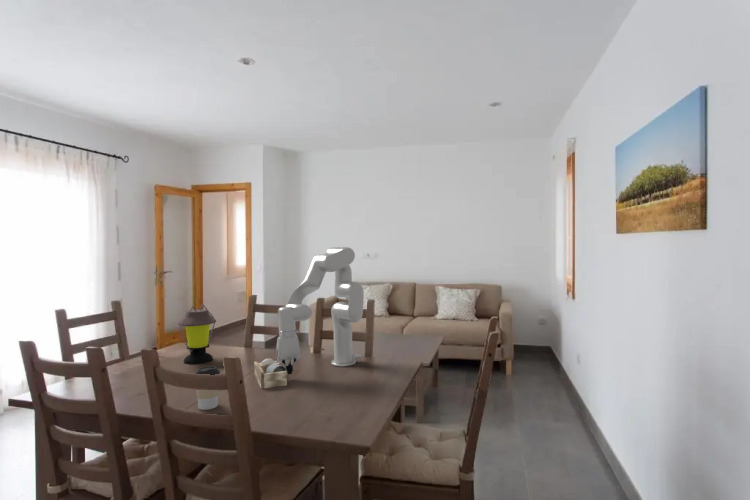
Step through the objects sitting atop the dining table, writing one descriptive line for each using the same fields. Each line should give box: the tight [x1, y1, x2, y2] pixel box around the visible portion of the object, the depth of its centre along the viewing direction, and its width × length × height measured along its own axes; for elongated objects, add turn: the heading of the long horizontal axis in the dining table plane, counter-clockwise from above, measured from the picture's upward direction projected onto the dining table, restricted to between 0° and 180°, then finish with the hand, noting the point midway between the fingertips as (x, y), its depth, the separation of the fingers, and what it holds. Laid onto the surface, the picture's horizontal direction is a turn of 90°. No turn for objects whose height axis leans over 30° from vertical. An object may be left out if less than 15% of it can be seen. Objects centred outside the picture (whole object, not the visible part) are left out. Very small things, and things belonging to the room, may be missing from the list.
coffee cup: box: [194, 365, 221, 411], centre depth 170 cm, size 9×9×15 cm
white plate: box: [260, 358, 276, 365], centre depth 208 cm, size 8×1×8 cm, turn 114°
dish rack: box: [253, 360, 288, 390], centre depth 201 cm, size 11×20×7 cm, turn 23°
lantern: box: [177, 304, 217, 365], centre depth 239 cm, size 25×19×30 cm
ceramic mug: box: [266, 364, 287, 374], centre depth 200 cm, size 11×8×8 cm
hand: (289, 373), depth 203 cm, fingers closed
